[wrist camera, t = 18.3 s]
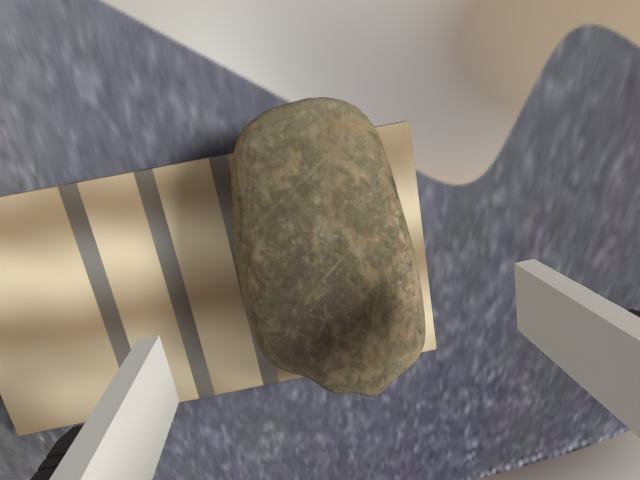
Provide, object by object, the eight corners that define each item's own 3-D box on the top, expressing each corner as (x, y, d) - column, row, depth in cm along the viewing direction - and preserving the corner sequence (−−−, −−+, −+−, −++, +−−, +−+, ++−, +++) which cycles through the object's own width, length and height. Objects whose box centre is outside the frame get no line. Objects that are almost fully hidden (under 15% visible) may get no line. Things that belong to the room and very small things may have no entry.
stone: (285, 402, 26) (238, 440, 16) (251, 182, 29) (194, 104, 19) (431, 375, 25) (472, 398, 16) (379, 155, 29) (386, 61, 19)
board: (-61, 207, 24) (-79, 211, 23) (403, 121, 25) (409, 120, 24) (29, 422, 27) (18, 436, 26) (430, 339, 28) (436, 348, 27)
